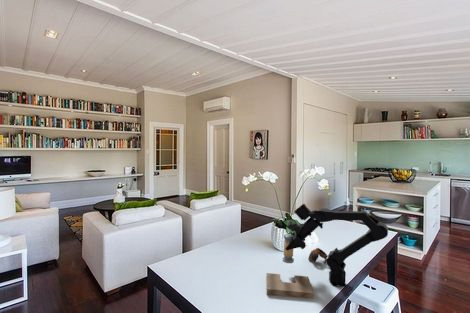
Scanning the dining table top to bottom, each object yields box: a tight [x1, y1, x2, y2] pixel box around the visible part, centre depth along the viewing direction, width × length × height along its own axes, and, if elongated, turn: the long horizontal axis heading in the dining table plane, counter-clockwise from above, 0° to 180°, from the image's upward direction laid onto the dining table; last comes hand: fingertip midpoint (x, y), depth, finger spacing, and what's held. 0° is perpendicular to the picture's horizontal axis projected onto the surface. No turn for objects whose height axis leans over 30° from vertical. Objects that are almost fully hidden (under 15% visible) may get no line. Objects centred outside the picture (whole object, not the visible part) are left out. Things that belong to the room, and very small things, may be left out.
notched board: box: [265, 272, 315, 300], centre depth 114 cm, size 20×14×2 cm
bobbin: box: [282, 233, 295, 264], centre depth 127 cm, size 6×6×13 cm
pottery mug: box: [308, 247, 328, 264], centre depth 141 cm, size 12×10×8 cm
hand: (285, 247), depth 127 cm, fingers closed on bobbin, 5 cm apart
